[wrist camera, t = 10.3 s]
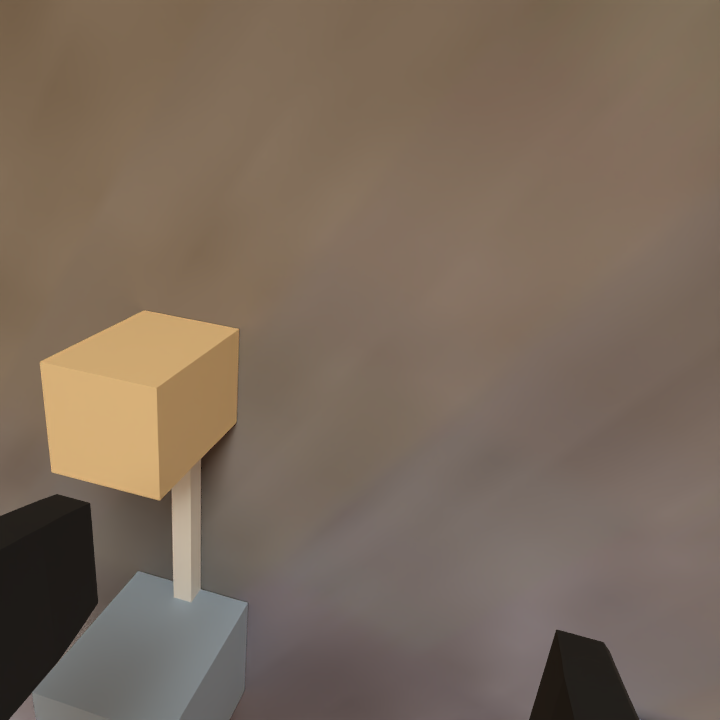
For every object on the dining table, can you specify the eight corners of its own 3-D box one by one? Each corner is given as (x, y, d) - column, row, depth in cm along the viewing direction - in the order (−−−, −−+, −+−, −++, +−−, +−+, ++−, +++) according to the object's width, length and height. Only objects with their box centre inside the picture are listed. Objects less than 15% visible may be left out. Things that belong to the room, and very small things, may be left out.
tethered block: (259, 333, 18) (157, 411, 14) (244, 690, 24) (170, 836, 19) (125, 306, 19) (-16, 371, 14) (142, 657, 25) (46, 789, 20)
